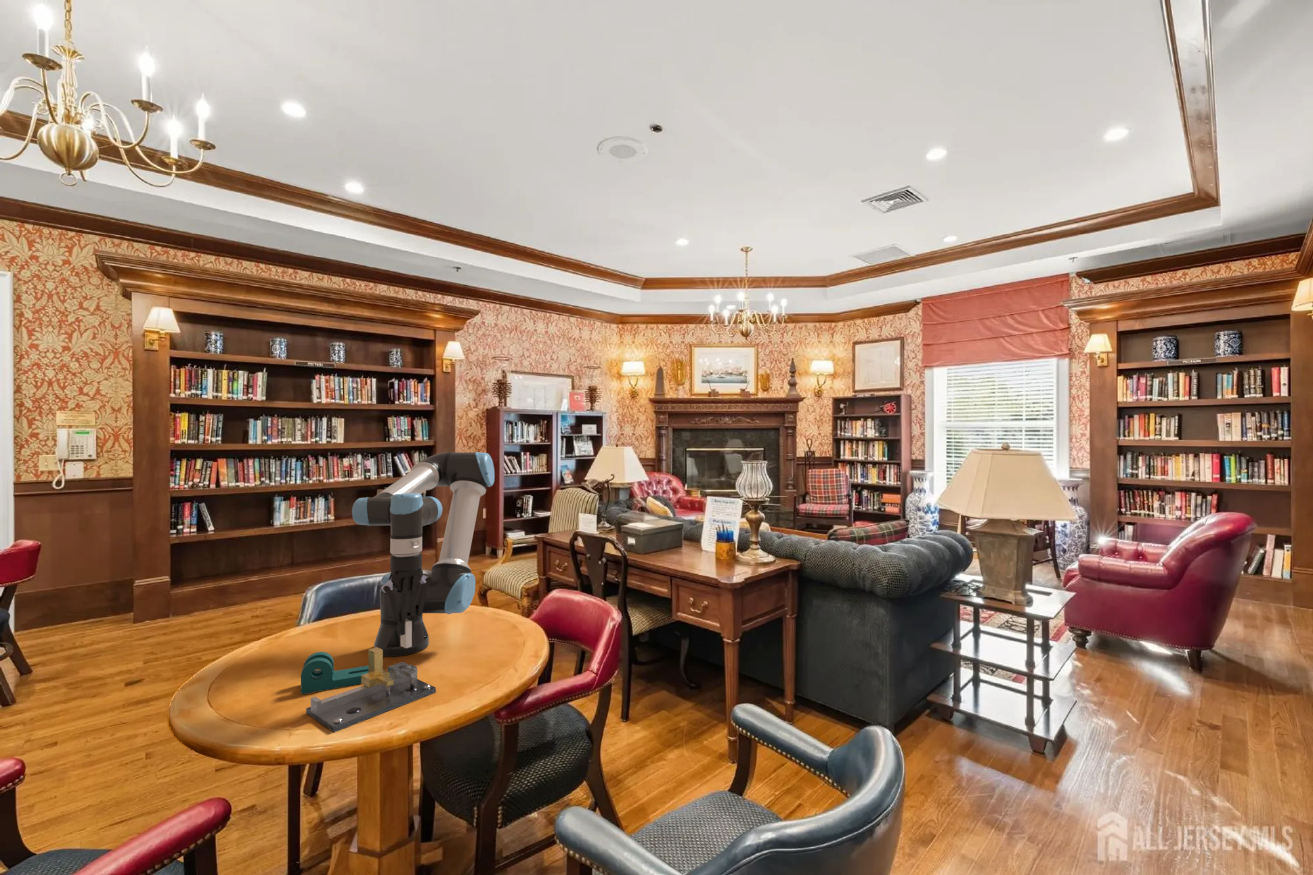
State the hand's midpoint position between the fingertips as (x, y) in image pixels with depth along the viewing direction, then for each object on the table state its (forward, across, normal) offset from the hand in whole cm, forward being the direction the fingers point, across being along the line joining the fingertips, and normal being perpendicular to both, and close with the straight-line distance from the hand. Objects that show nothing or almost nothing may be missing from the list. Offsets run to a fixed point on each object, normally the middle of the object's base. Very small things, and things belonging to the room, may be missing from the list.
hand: (406, 646), depth 145 cm
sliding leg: (+9, -8, -2) cm, 12 cm away
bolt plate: (+10, -10, -3) cm, 14 cm away
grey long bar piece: (+9, -10, -2) cm, 13 cm away
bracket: (+10, -9, +15) cm, 20 cm away
